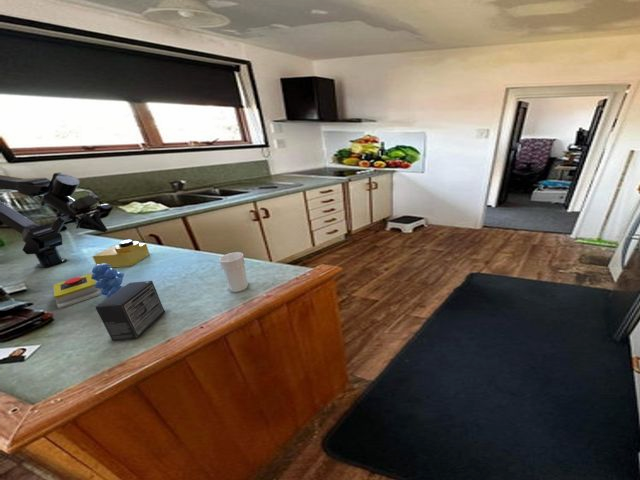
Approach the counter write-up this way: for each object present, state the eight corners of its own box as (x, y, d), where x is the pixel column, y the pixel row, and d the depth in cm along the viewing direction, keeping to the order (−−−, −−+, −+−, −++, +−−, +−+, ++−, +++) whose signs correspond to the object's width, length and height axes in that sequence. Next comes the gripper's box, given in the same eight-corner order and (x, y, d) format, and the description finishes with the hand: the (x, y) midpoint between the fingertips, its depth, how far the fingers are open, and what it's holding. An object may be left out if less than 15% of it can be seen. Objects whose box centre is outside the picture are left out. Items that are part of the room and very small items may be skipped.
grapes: (142, 292, 86) (129, 259, 82) (117, 305, 80) (101, 269, 76) (119, 286, 90) (105, 254, 86) (93, 298, 84) (77, 264, 80)
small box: (142, 313, 76) (128, 281, 73) (166, 311, 77) (154, 279, 73) (109, 341, 66) (92, 306, 63) (137, 339, 67) (122, 303, 63)
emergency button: (91, 268, 94) (96, 282, 85) (96, 279, 95) (101, 294, 86) (50, 279, 87) (51, 296, 78) (56, 291, 89) (57, 309, 80)
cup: (254, 283, 89) (248, 253, 85) (238, 294, 83) (230, 263, 79) (239, 280, 91) (232, 251, 87) (222, 291, 85) (213, 260, 82)
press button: (117, 248, 104) (115, 244, 104) (125, 244, 108) (124, 240, 107) (128, 247, 104) (126, 243, 104) (136, 243, 108) (134, 239, 108)
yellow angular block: (97, 268, 103) (90, 252, 101) (119, 256, 112) (113, 241, 110) (132, 266, 104) (125, 249, 102) (151, 254, 113) (145, 239, 111)
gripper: (43, 195, 90) (90, 225, 93) (99, 183, 107) (136, 209, 111) (31, 218, 92) (77, 246, 96) (87, 203, 110) (124, 228, 114)
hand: (106, 231), depth 104 cm, fingers closed
